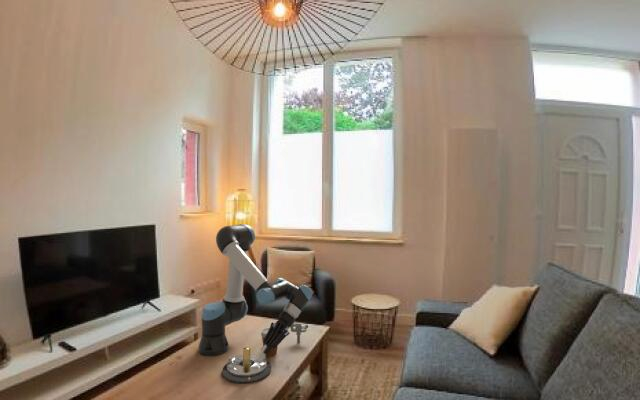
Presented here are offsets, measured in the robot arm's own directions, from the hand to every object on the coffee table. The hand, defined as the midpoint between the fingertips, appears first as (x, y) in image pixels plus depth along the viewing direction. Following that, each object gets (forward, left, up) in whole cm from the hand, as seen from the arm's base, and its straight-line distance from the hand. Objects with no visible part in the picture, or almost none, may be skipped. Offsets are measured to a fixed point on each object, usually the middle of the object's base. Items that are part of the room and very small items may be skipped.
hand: (258, 359), depth 169 cm
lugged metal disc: (-7, -2, -6) cm, 10 cm away
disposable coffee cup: (-15, +16, -8) cm, 24 cm away
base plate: (-7, -2, -8) cm, 11 cm away
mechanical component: (-18, +36, -8) cm, 41 cm away
